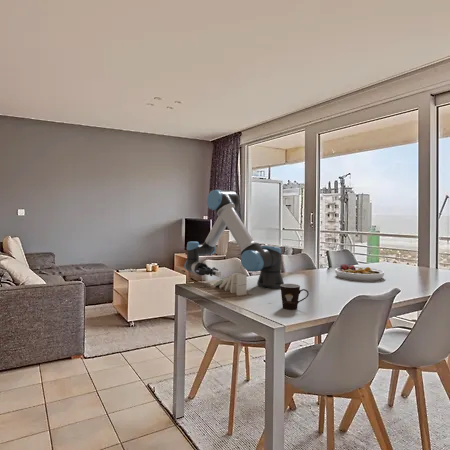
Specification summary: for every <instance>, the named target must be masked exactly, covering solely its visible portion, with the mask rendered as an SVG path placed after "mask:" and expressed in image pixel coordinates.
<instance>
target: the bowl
mask: <svg viewBox="0 0 450 450" xmlns="http://www.w3.org/2000/svg"><path fill="white" fill-rule="evenodd" d="M335 276H337V277H338V278H340V279H343V280H349V281H356V282H357V281H359V282H374V281H380V280H381V279H382V278H384V276H385V271H384V270H381V269H377V268H372V267H369V266H367V267H361V266H358V267H357V266H354V264H349V265H348V264H347V263H343V264H341V265H340V266H339V267H337V268H335Z"/></svg>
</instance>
